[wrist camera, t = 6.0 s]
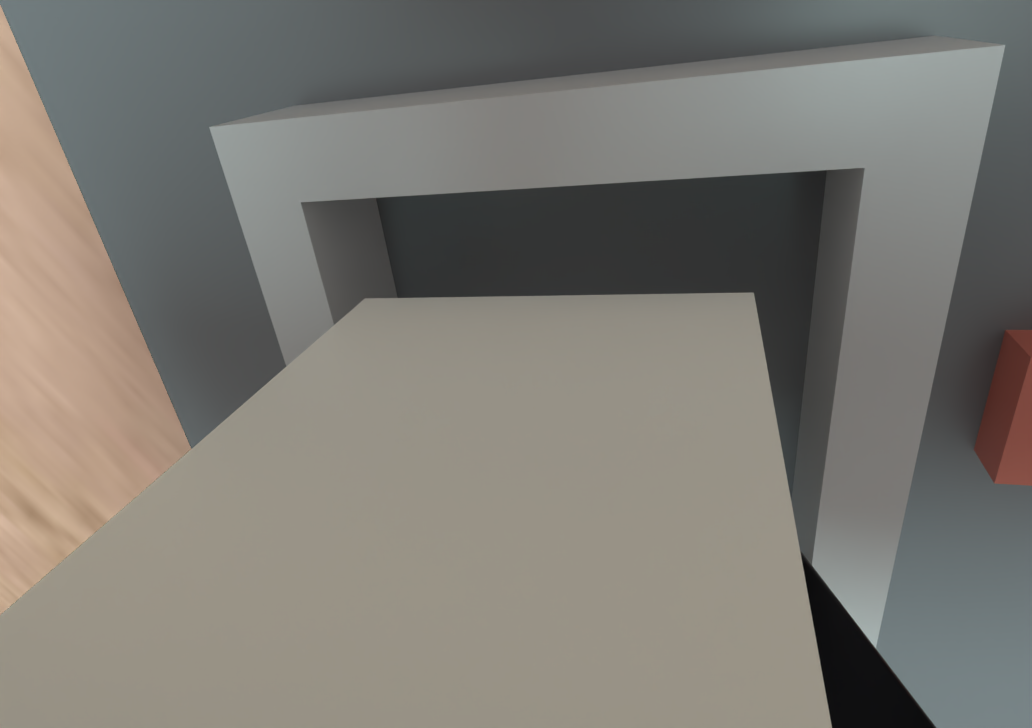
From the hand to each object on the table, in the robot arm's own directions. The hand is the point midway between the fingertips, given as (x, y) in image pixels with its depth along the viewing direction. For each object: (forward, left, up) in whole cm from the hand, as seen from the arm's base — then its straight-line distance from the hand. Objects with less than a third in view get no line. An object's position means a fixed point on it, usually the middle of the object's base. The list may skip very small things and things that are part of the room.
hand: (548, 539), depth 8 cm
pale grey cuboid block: (0, 0, -2) cm, 2 cm away
